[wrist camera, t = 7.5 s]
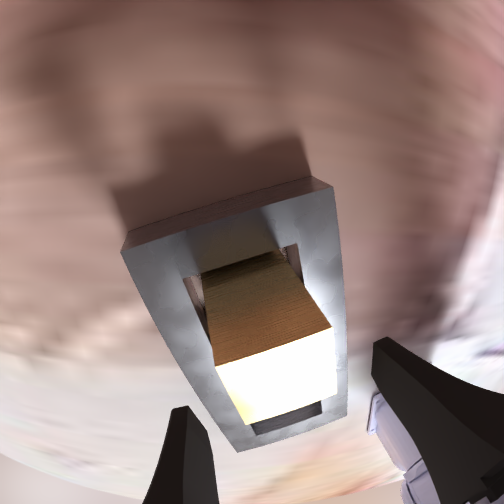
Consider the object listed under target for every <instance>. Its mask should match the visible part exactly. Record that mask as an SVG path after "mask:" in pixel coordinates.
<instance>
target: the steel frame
mask: <svg viewBox="0 0 504 504" xmlns="http://www.w3.org/2000/svg"><path fill="white" fill-rule="evenodd" d="M282 247H286V249H287V254H288V259H289V264H290V266H291V267H292V269H293V270H294V272H295V273H296V275H297V276H298V278H299V279H300V280H301V282H302V283H303V285H304V286H305V288H306V289H307V291H308V292H309V293H310V295H311V296H312V298H313V299H314V301H315V302H316V304H317V305H318V307H319V308H320V310H321V311H322V312H323V314H324V315H325V317H326V318H327V320H328V321H329V323H330V324H331V326H332V327H333V337H334V351H335V366H336V384H337V393H336V394H334V395H332V396H329V397H327V398H324V399H322V400H319V401H316V402H314V403H311V404H308V405H306V406H303V407H300V408H297V409H295V410H292V411H289V412H286V413H283V414H280V415H277V416H274V417H271V418H267V419H264V420H261V421H257V422H254V423H251V424H247V425H245V423H244V421H243V419H242V417H241V416H240V414H239V412H238V410H237V408H236V406H235V405H234V403H233V401H232V399H231V397H230V395H229V393H228V391H227V389H226V388H225V386H224V384H223V382H222V380H221V378H220V376H219V374H218V372H217V370H216V368H215V364H214V358H213V352H212V346H211V340H210V334H209V327H208V321H207V318H206V315H205V313H204V311H203V308H202V306H201V303H200V301H199V298H198V296H197V293H196V291H195V289H194V286H193V283H192V281H191V278H190V276H193V275H196V274H200V273H203V272H206V271H209V270H212V269H216V268H219V267H222V266H225V265H228V264H232V263H235V262H238V261H241V260H244V259H247V258H251V257H254V256H257V255H260V254H263V253H267V252H270V251H273V250H276V249H279V248H282ZM120 253H121V255H122V257H123V259H124V262H125V264H126V266H127V268H128V270H129V272H130V275H131V277H132V279H133V281H134V283H135V285H136V287H137V289H138V291H139V293H140V295H141V297H142V299H143V301H144V303H145V305H146V307H147V309H148V311H149V313H150V315H151V317H152V319H153V320H154V322H155V324H156V326H157V328H158V330H159V332H160V333H161V335H162V337H163V339H164V341H165V342H166V344H167V346H168V348H169V349H170V351H171V353H172V355H173V356H174V358H175V360H176V361H177V363H178V365H179V366H180V368H181V370H182V371H183V373H184V375H185V376H186V378H187V380H188V381H189V383H190V384H191V386H192V388H193V389H194V391H195V392H196V394H197V395H198V397H199V399H200V400H201V402H202V403H203V405H204V406H205V408H206V409H207V411H208V412H209V414H210V415H211V417H212V418H213V420H214V421H215V422H216V424H217V425H218V427H219V428H220V430H221V431H222V432H223V434H224V435H225V437H226V438H227V439H228V441H229V442H230V443H231V445H232V446H233V448H234V449H235V450H236V452H237V453H238V452H242V451H246V450H249V449H253V448H257V447H260V446H264V445H267V444H270V443H274V442H277V441H280V440H283V439H286V438H289V437H292V436H295V435H298V434H301V433H304V432H307V431H309V430H312V429H315V428H317V427H320V426H323V425H325V424H328V423H330V422H333V421H335V420H338V419H340V418H342V417H345V416H347V334H346V312H345V295H344V281H343V268H342V257H341V247H340V237H339V228H338V219H337V211H336V203H335V196H334V189H333V187H332V186H331V185H329V184H327V183H325V182H323V181H321V180H319V179H317V178H315V177H313V176H311V177H307V178H303V179H299V180H295V181H292V182H288V183H284V184H280V185H277V186H273V187H270V188H266V189H262V190H259V191H255V192H252V193H248V194H245V195H241V196H238V197H235V198H231V199H228V200H225V201H221V202H218V203H215V204H211V205H208V206H205V207H202V208H198V209H195V210H192V211H189V212H186V213H183V214H180V215H177V216H174V217H171V218H167V219H164V220H161V221H158V222H156V223H153V224H150V225H147V226H144V227H141V228H138V229H135V230H132V231H129V233H128V235H127V237H126V239H125V242H124V244H123V246H122V249H121V251H120Z"/></svg>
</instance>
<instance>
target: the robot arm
mask: <svg viewBox="0 0 504 504" xmlns="http://www.w3.org/2000/svg"><path fill="white" fill-rule="evenodd" d="M371 375H372V377H373V379H374V381H375V383H376V385H377V387H378V389H379V391H380V392H381V393H380V394H378V395H376V396H375V397H374V398H373V401H372V408H371V415H370V421H369V427H368V432H367V433H368V435H372V434H374V433H376V434H377V435H378V437H379V439H380V441H381V442H382V444H383V446H384V448H385V449H386V451H387V453H388V455H389V456H390V458H391V460H392V462H393V463H394V465H395V466H396V467H397V468H399V469H400V470H402V471H405V472H406V473H405V474H403V476H404V478H405V479H406V480H404V481H403V482H402V487H401V497H402V500H403V502H404V504H504V394H501V393H497V392H493V391H490V390H486V389H483V388H480V387H478V386H475V385H472V384H470V383H467V382H465V381H463V380H461V379H458V378H456V377H454V376H452V375H450V374H448V373H446V372H444V371H442V370H441V369H439V368H437V367H435V366H433V365H432V364H430V363H428V362H427V361H425V360H423V359H422V358H420V357H418V356H417V355H415V354H414V353H412V352H410V351H409V350H407V349H406V348H404V347H403V346H401V345H400V344H398V343H397V342H395V341H394V340H392V339H391V338H389V337H385V338H382V339H380V340H378V341H376V342H374V343H373V359H372V371H371ZM142 504H219V499H218V492H217V484H216V476H215V469H214V461H213V453H212V449H211V445H210V441H209V437H208V433H207V430H206V429H205V428H204V426H203V425H202V424H201V422H200V421H199V420H198V418H197V417H196V416H195V414H194V413H193V411H192V410H191V409H190V407H189V406H183V407H179V408H174V409H172V411H171V415H170V420H169V424H168V428H167V432H166V436H165V440H164V444H163V448H162V451H161V454H160V458H159V461H158V464H157V467H156V470H155V473H154V476H153V479H152V482H151V484H150V487H149V489H148V492H147V494H146V497H145V499H144V501H143V503H142Z"/></svg>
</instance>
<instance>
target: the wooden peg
mask: <svg viewBox="0 0 504 504" xmlns="http://www.w3.org/2000/svg"><path fill="white" fill-rule="evenodd" d="M201 279H202V287H203V294H204V301H205V308H206V314H207V321H208V327H209V334H210V340H211V346H212V352H213V358H214V364H215V368H216V370H217V372H218V374H219V376H220V378H221V380H222V382H223V384H224V386H225V388H226V389H227V391H228V393H229V395H230V397H231V399H232V401H233V403H234V405H235V406H236V408H237V410H238V412H239V414H240V416H241V417H242V419H243V421H244V423H245V425H247V424H251V423H254V422H257V421H261V420H264V419H267V418H271V417H274V416H277V415H280V414H283V413H286V412H289V411H292V410H295V409H297V408H300V407H303V406H306V405H308V404H311V403H314V402H316V401H319V400H322V399H324V398H327V397H329V396H332V395H334V394H336V393H337V384H336V366H335V351H334V337H333V327H332V326H331V324H330V323H329V321H328V320H327V318H326V317H325V315H324V314H323V312H322V311H321V310H320V308H319V307H318V305H317V304H316V302H315V301H314V299H313V298H312V296H311V295H310V293H309V292H308V291H307V289H306V288H305V286H304V285H303V283H302V282H301V280H300V279H299V278H298V276H297V275H296V273H295V272H294V270H293V269H292V267H291V266H290V265H289V263H288V262H287V260H286V259H285V257H284V256H283V255H282V253H281V252H280V250H279V249H276V250H273V251H270V252H267V253H263V254H260V255H257V256H254V257H251V258H247V259H244V260H241V261H238V262H235V263H232V264H228V265H225V266H222V267H219V268H216V269H212V270H209V271H206V272H203V273H201Z"/></svg>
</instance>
